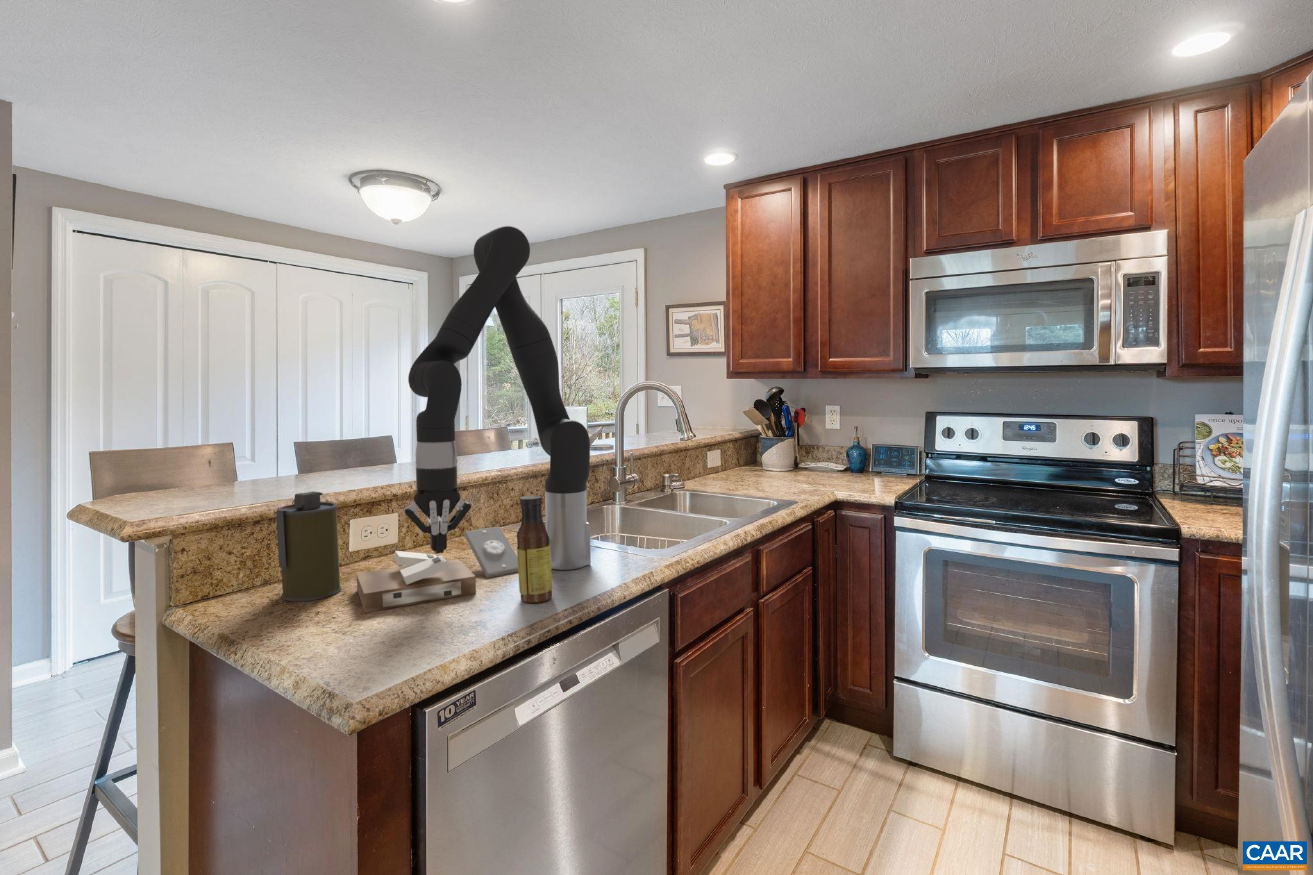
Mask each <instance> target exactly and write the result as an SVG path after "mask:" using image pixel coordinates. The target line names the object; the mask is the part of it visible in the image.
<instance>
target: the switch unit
mask: <svg viewBox="0 0 1313 875" xmlns="http://www.w3.org/2000/svg"><path fill="white" fill-rule="evenodd" d="M446 561H447V564H448V567H449V569H446V570H444V571H441V572H438V573H436V574H433V575H431V576H428V577H425V578H423V579H420V580H418V581H415V582H413V583H410V584H407V585H406V583H405V581H404V580H403V578H402V575H401V572H400V570H402V569H405V568H407V567H410V566H409V565H406V566H400V567H395V568H394V567H393V568H386V569H379V570H373V571H367V572H366V571H365V572H359V573H356V574H355V575H356V591H357V594H358V597H359V600H360V602H361V606H362V607H363V611H364V613H370V612H371V613H372V612H377V611H383V610H388V609H394V608H399V607H405V606H410V605H416V604H423V603H427V602H433V601H439V600H446V599H451V598H457V597H464V596H469V595H474V594H475V595H476V594H477V586H476V585H477V584H476V583H477V582H476V580H477V579H476V578H477V577H476V575H475V574H474V573H473V572H472V571H471V570H470V569H469V568H468V567H467V566H466V564H464V563H463V562H462V561H461V560H460V559H458V558H457V559H450V560H449V559H448V560H446Z"/></svg>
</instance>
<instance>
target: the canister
mask: <svg viewBox="0 0 1313 875" xmlns="http://www.w3.org/2000/svg"><path fill="white" fill-rule="evenodd" d="M322 495H324V493H323V492H320V491H307V492H297V493H296V494H294V499H292V500H293V501H292V503H291V504H286V505H284V506H281V507H278V508H277V509H276V510H275V514H276V515H275V516H276V531H277V532H276V534H277V551H278V567H280V569H281V583H282V584H281V585H282V594H281V599H282V600H284V601H286V602H294V603H300V602H312V601H319V600H321V599H325V598H329V597H333V596H335V595H337V594H338V593H340V591H342V586H341V576H340V574H341V572H340V557H339V556H340V553H339V551H340V550H339V534H338V533H339V532H338V512H337V508H338V505H339V504H337V503H336V502H332V501H321V496H322Z"/></svg>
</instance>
